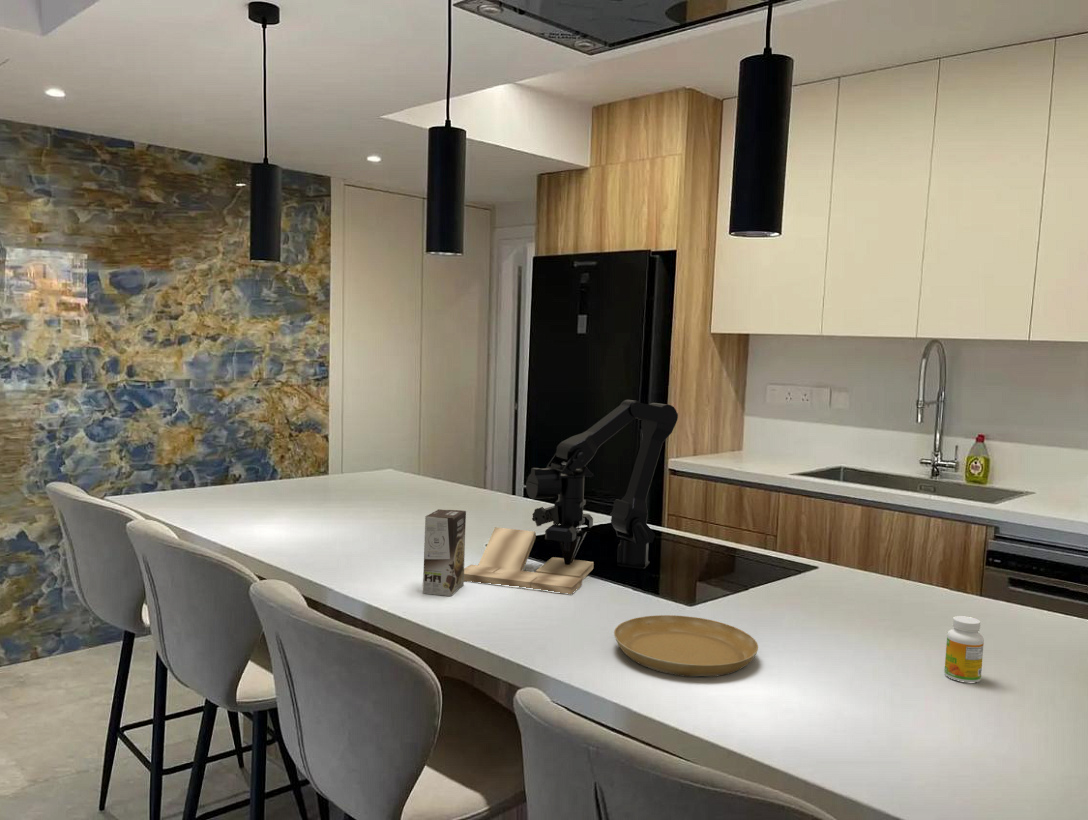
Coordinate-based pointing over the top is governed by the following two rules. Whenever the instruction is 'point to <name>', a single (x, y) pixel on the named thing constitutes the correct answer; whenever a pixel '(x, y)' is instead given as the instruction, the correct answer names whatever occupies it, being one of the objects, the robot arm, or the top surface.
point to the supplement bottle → (964, 650)
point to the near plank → (566, 568)
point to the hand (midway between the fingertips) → (568, 563)
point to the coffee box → (444, 552)
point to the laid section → (522, 579)
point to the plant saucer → (685, 645)
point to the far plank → (508, 549)
